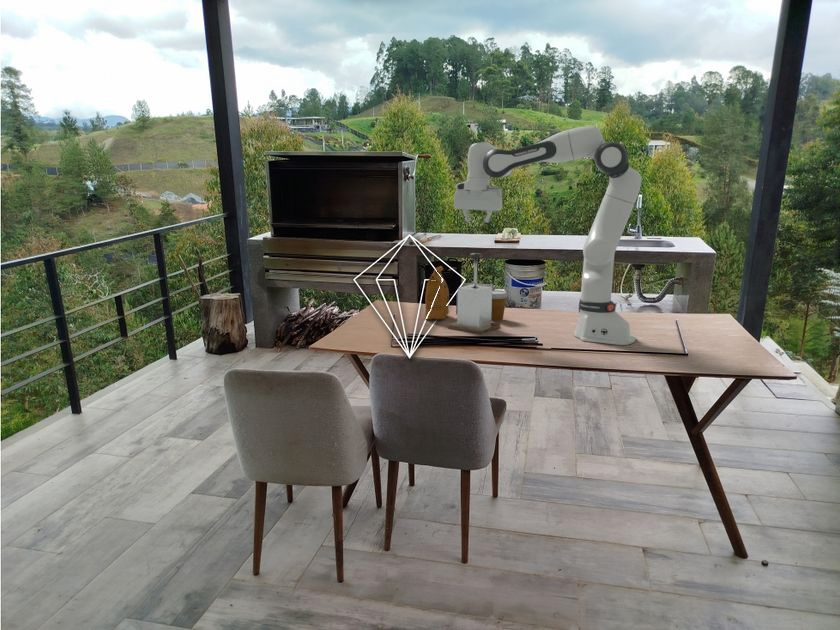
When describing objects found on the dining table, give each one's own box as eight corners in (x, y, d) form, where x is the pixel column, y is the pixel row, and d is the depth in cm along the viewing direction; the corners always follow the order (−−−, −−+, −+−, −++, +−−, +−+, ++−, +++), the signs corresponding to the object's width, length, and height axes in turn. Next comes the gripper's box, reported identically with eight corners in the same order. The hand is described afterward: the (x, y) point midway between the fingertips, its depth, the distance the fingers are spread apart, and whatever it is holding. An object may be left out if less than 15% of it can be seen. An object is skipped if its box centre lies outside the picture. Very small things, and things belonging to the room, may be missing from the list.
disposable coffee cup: (495, 316, 265) (495, 289, 262) (511, 319, 258) (512, 292, 255) (479, 319, 259) (480, 291, 257) (495, 323, 252) (496, 294, 249)
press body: (499, 327, 245) (501, 287, 242) (482, 334, 234) (483, 292, 231) (465, 321, 254) (466, 283, 251) (447, 328, 243) (448, 287, 240)
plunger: (487, 299, 243) (489, 253, 239) (478, 302, 237) (479, 255, 232) (471, 297, 247) (472, 252, 243) (461, 299, 241) (462, 254, 237)
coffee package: (452, 315, 266) (452, 266, 261) (444, 321, 254) (444, 270, 249) (430, 314, 269) (431, 265, 264) (421, 320, 257) (422, 269, 252)
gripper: (506, 185, 229) (504, 222, 232) (460, 185, 240) (459, 220, 243) (498, 186, 224) (496, 223, 227) (451, 185, 235) (451, 220, 238)
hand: (477, 221), depth 235 cm, fingers open, 7 cm apart
